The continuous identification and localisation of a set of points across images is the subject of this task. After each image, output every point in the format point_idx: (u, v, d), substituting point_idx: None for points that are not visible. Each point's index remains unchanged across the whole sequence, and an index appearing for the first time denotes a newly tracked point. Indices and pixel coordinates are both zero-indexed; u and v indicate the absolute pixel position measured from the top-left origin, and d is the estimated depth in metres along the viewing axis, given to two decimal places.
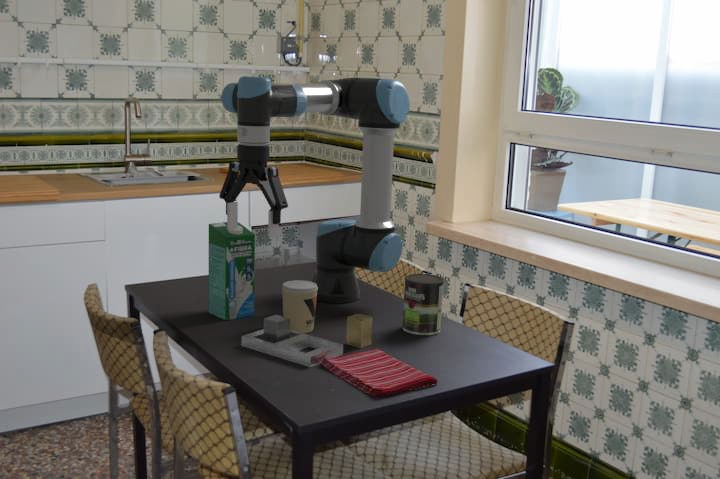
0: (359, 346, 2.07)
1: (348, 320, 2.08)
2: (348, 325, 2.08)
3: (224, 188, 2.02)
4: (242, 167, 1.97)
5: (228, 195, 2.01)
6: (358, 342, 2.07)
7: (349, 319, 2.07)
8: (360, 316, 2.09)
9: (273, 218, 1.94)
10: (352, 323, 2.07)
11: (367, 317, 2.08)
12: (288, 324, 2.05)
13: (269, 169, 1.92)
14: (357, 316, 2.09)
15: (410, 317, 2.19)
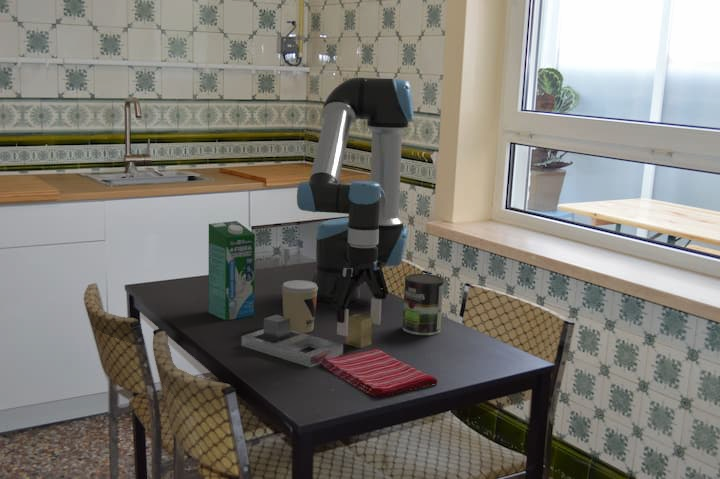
0: (359, 346, 2.07)
1: (348, 320, 2.08)
2: (348, 325, 2.08)
3: None
4: None
5: None
6: (358, 342, 2.07)
7: (349, 319, 2.07)
8: (360, 316, 2.09)
9: None
10: (352, 323, 2.07)
11: (367, 317, 2.08)
12: (288, 324, 2.05)
13: None
14: (357, 316, 2.09)
15: (410, 317, 2.19)
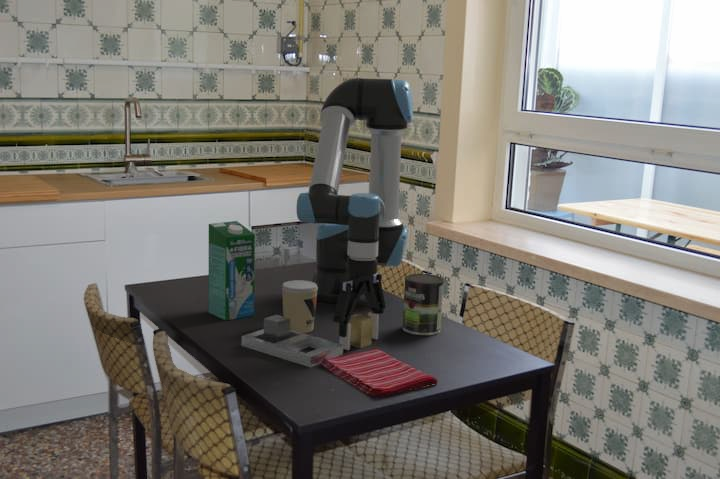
0: (359, 346, 2.07)
1: (349, 320, 2.08)
2: None
3: None
4: None
5: None
6: (358, 342, 2.07)
7: None
8: (360, 316, 2.09)
9: None
10: (352, 323, 2.07)
11: (367, 317, 2.08)
12: (288, 324, 2.05)
13: None
14: (357, 316, 2.09)
15: (410, 317, 2.19)
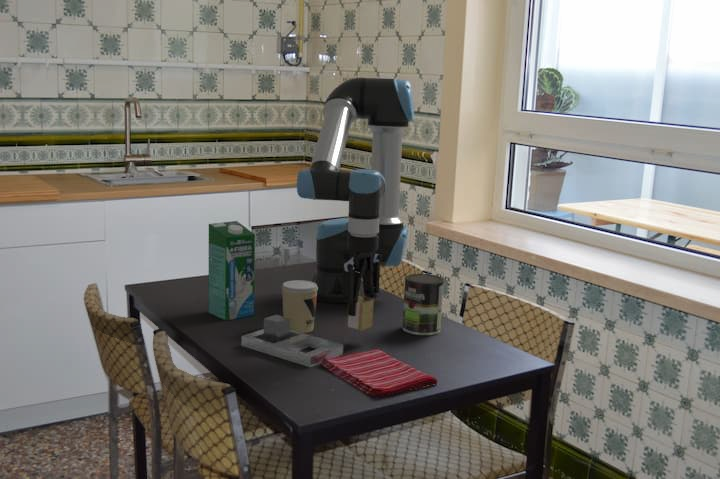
0: (360, 328, 2.06)
1: None
2: None
3: None
4: None
5: None
6: (359, 325, 2.07)
7: None
8: (361, 298, 2.09)
9: None
10: None
11: (368, 299, 2.08)
12: (288, 324, 2.05)
13: None
14: (358, 298, 2.08)
15: (410, 317, 2.19)
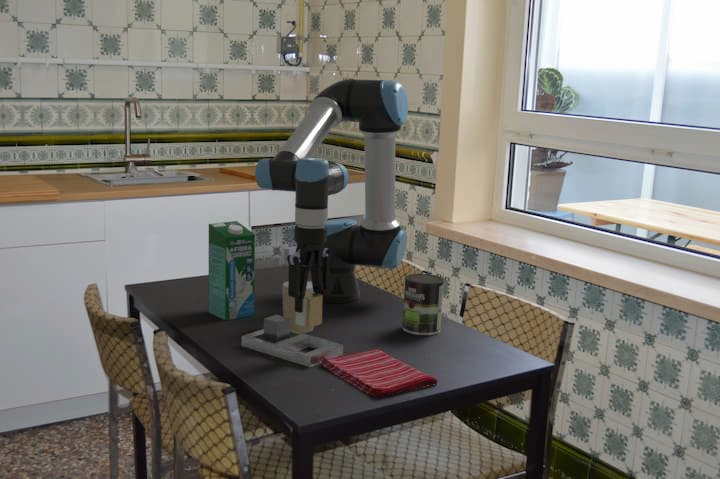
0: (308, 326, 1.96)
1: None
2: None
3: None
4: None
5: None
6: (306, 322, 1.96)
7: None
8: (310, 294, 1.98)
9: None
10: None
11: (317, 295, 1.97)
12: (288, 324, 2.05)
13: None
14: (306, 294, 1.98)
15: (410, 317, 2.19)
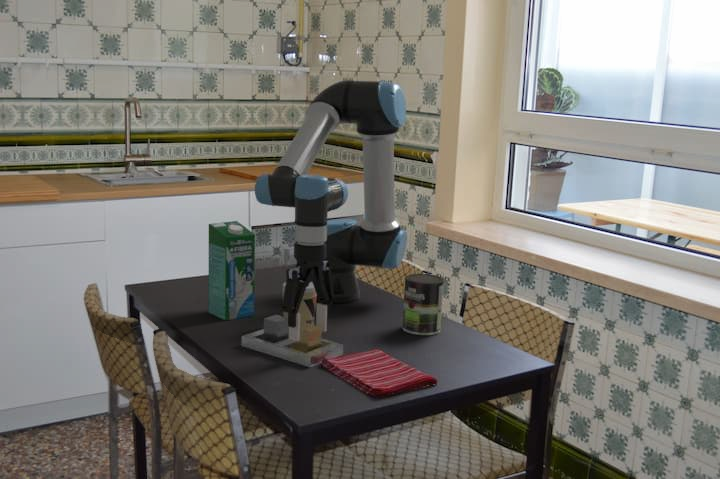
0: None
1: None
2: None
3: None
4: None
5: None
6: None
7: None
8: (309, 325, 2.00)
9: None
10: (300, 333, 1.97)
11: (316, 327, 1.99)
12: None
13: None
14: (305, 326, 1.99)
15: (410, 317, 2.19)
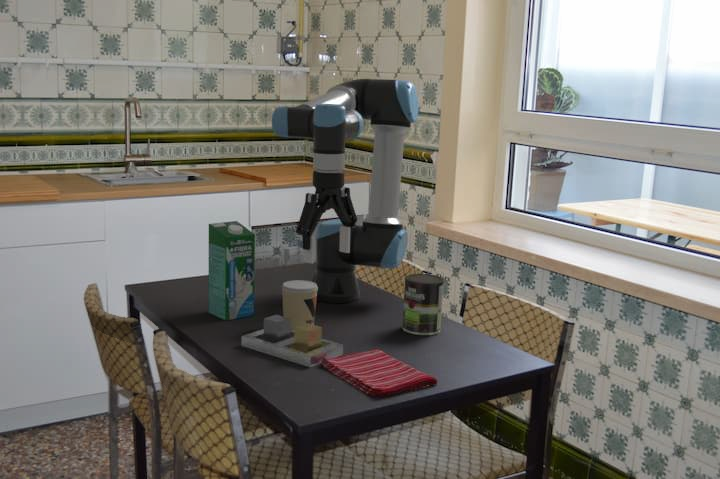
0: None
1: (296, 330, 1.98)
2: (296, 335, 1.98)
3: None
4: None
5: None
6: None
7: (296, 329, 1.98)
8: (309, 325, 2.00)
9: None
10: (300, 333, 1.97)
11: (316, 327, 1.99)
12: (288, 324, 2.05)
13: None
14: (305, 326, 1.99)
15: (410, 317, 2.19)
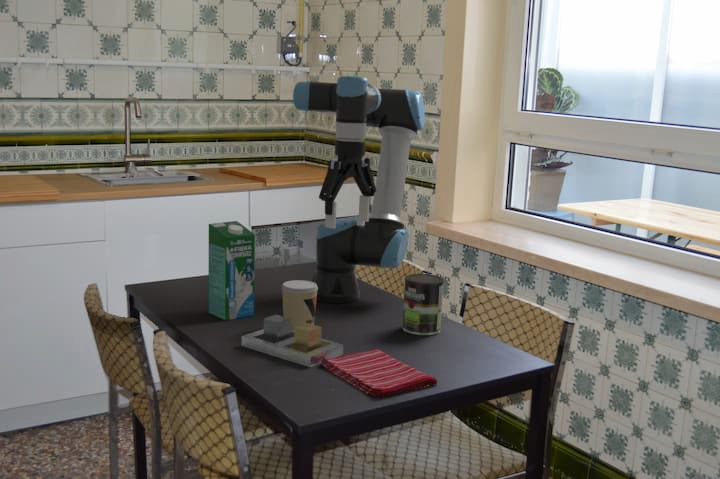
0: None
1: (296, 330, 1.98)
2: (296, 335, 1.98)
3: None
4: None
5: None
6: None
7: (296, 329, 1.98)
8: (309, 325, 2.00)
9: None
10: (300, 333, 1.97)
11: (316, 327, 1.99)
12: (288, 324, 2.05)
13: None
14: (305, 326, 1.99)
15: (410, 317, 2.19)
